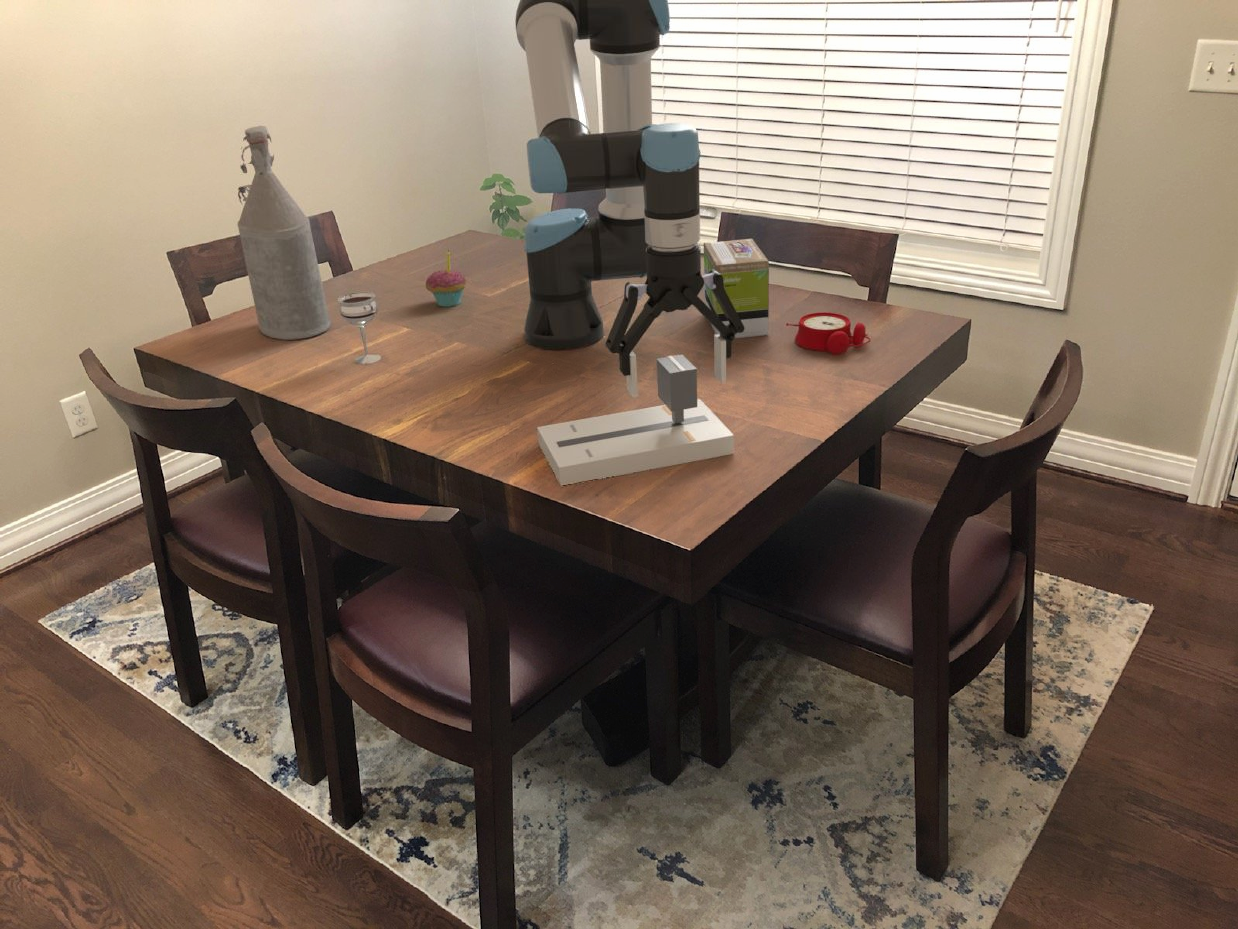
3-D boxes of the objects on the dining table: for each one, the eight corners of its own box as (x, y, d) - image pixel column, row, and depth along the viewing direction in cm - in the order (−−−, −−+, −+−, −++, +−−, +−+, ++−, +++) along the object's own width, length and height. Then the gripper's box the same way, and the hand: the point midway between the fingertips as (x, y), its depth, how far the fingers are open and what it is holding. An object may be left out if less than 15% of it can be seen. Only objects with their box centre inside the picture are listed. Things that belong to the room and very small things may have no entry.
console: (538, 445, 154) (537, 426, 153) (699, 416, 160) (699, 398, 159) (560, 486, 142) (559, 467, 141) (733, 453, 148) (733, 434, 147)
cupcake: (477, 299, 218) (470, 244, 212) (451, 312, 211) (443, 255, 206) (446, 294, 222) (439, 240, 216) (420, 306, 216) (411, 251, 210)
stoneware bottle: (296, 312, 217) (255, 118, 198) (345, 327, 207) (307, 124, 188) (243, 330, 208) (195, 129, 190) (292, 346, 198) (246, 135, 180)
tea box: (703, 314, 202) (702, 240, 195) (753, 310, 203) (754, 236, 196) (716, 340, 189) (715, 263, 182) (769, 336, 189) (771, 258, 182)
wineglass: (373, 349, 194) (362, 289, 189) (393, 357, 190) (382, 296, 184) (342, 360, 190) (330, 298, 185) (361, 368, 186) (350, 306, 180)
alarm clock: (815, 307, 191) (881, 307, 180) (820, 340, 193) (885, 342, 181) (778, 322, 186) (843, 323, 174) (783, 355, 187) (848, 358, 176)
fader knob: (658, 414, 153) (656, 357, 149) (683, 410, 154) (682, 353, 150) (672, 431, 148) (670, 372, 144) (697, 426, 149) (696, 368, 145)
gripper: (592, 264, 133) (602, 411, 143) (768, 239, 138) (766, 382, 148) (577, 248, 139) (588, 390, 149) (746, 225, 145) (745, 363, 155)
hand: (676, 386), depth 149 cm, fingers open, 13 cm apart
